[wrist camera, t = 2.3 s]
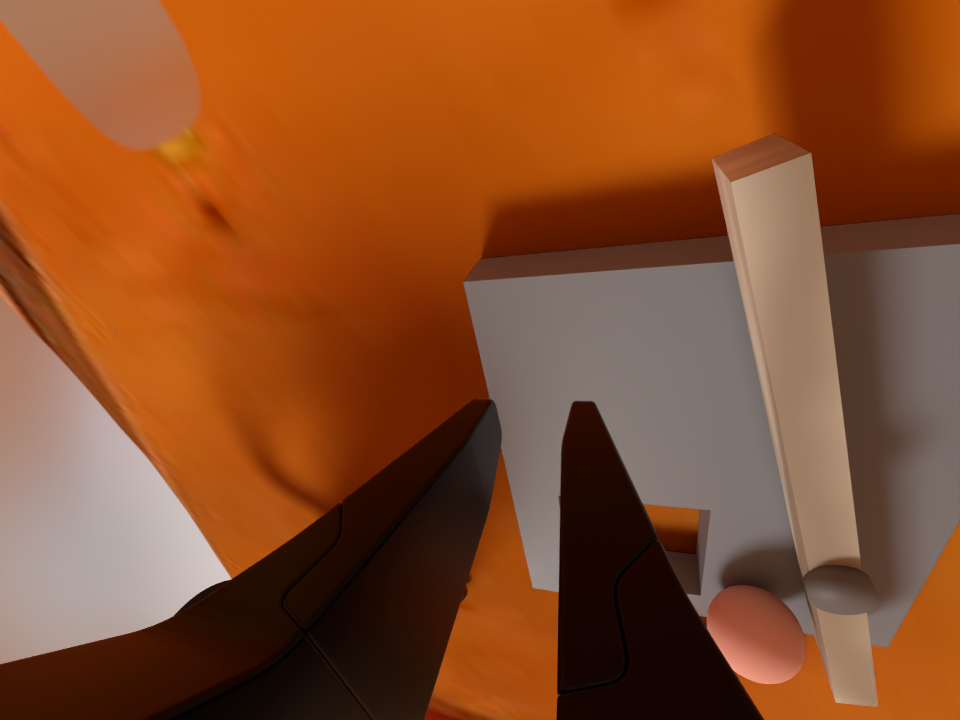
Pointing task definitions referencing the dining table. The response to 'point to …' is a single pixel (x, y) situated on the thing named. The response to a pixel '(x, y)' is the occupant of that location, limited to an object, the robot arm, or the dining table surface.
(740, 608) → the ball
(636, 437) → the board
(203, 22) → the dining table surface
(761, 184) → the lever
